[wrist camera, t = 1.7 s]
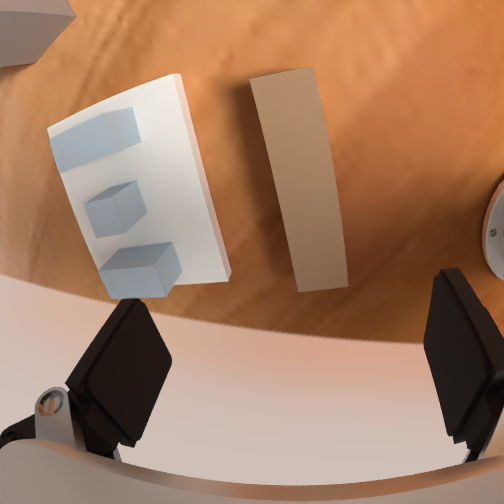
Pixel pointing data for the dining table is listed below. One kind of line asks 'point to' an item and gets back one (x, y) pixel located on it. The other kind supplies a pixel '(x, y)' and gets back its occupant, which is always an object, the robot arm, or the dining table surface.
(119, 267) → the stand
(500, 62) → the dining table surface
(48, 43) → the perfume bottle
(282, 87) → the long tan plank
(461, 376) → the robot arm
